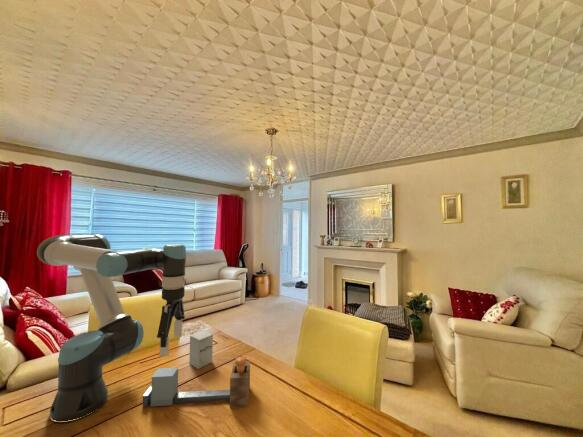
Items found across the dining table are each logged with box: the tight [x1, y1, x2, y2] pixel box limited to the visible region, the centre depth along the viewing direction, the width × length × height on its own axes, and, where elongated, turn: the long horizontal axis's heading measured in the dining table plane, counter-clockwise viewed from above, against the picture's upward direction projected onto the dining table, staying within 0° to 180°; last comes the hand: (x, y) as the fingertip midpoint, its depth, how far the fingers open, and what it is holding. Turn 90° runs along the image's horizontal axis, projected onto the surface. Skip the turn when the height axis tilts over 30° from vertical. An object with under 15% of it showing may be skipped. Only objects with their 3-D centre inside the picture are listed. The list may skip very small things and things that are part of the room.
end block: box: [229, 360, 251, 409], centre depth 89 cm, size 6×10×10 cm, turn 5°
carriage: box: [150, 367, 179, 407], centre depth 87 cm, size 7×5×10 cm
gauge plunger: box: [234, 356, 247, 373], centre depth 90 cm, size 4×4×6 cm
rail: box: [142, 385, 230, 409], centre depth 88 cm, size 30×5×4 cm, turn 95°
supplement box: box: [189, 330, 214, 370], centre depth 112 cm, size 7×7×13 cm
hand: (171, 345), depth 89 cm, fingers open, 13 cm apart
